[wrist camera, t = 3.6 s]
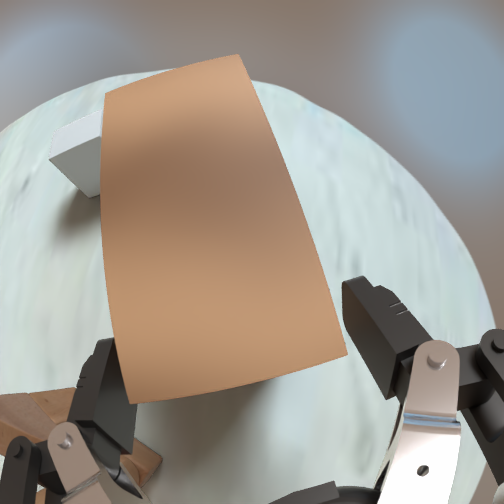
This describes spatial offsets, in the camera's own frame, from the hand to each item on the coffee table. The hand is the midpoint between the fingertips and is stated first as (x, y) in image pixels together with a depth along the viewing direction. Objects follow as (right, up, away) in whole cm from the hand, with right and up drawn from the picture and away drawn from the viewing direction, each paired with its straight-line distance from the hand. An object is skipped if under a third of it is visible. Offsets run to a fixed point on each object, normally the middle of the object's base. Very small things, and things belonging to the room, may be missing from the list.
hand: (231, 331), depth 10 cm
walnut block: (0, -1, +15) cm, 15 cm away
